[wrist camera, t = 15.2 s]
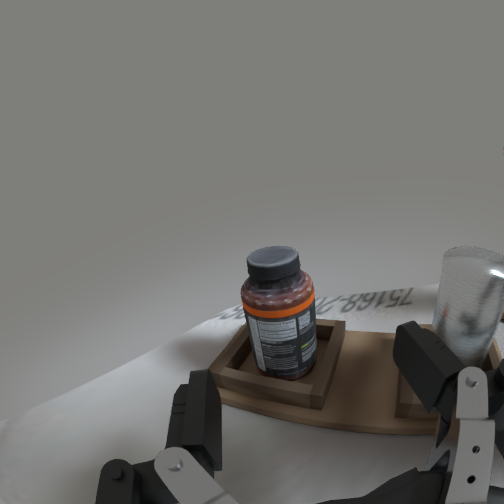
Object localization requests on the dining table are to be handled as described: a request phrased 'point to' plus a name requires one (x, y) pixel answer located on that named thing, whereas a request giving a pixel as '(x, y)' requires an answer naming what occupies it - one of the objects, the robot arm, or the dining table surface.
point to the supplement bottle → (280, 313)
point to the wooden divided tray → (333, 384)
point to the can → (469, 302)
